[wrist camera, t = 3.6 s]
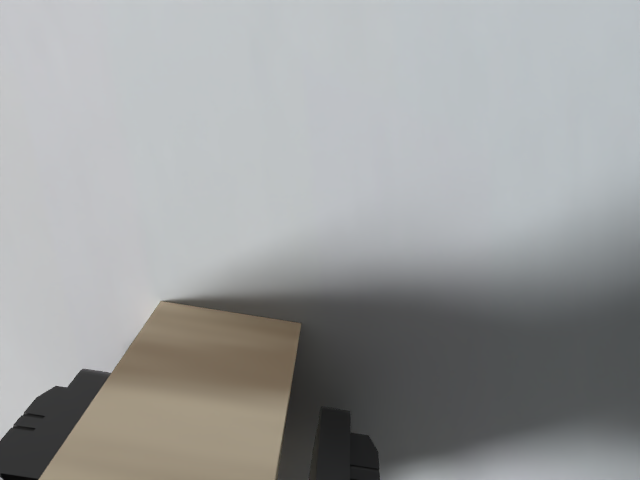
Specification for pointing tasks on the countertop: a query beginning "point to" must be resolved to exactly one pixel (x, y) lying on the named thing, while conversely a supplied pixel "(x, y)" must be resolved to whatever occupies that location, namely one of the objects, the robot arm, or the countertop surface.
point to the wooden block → (189, 402)
